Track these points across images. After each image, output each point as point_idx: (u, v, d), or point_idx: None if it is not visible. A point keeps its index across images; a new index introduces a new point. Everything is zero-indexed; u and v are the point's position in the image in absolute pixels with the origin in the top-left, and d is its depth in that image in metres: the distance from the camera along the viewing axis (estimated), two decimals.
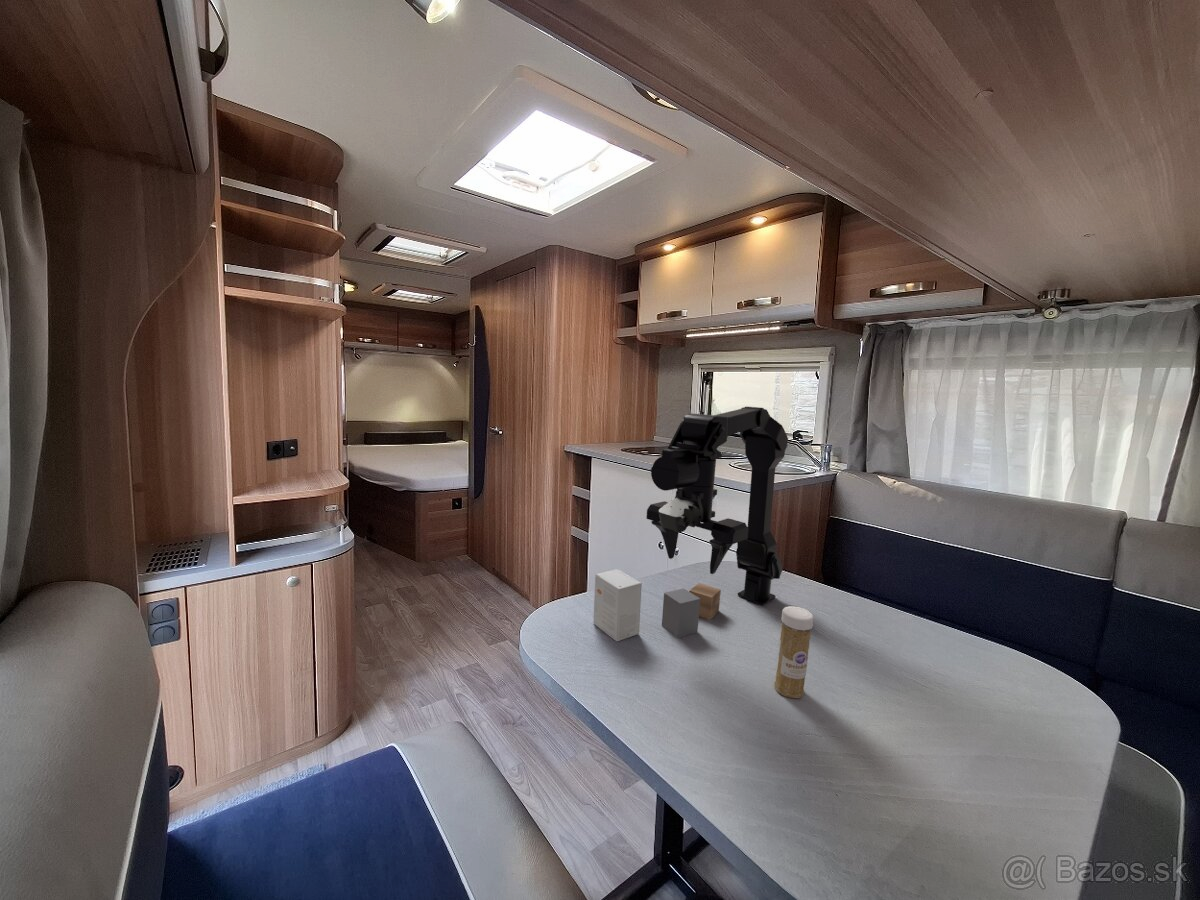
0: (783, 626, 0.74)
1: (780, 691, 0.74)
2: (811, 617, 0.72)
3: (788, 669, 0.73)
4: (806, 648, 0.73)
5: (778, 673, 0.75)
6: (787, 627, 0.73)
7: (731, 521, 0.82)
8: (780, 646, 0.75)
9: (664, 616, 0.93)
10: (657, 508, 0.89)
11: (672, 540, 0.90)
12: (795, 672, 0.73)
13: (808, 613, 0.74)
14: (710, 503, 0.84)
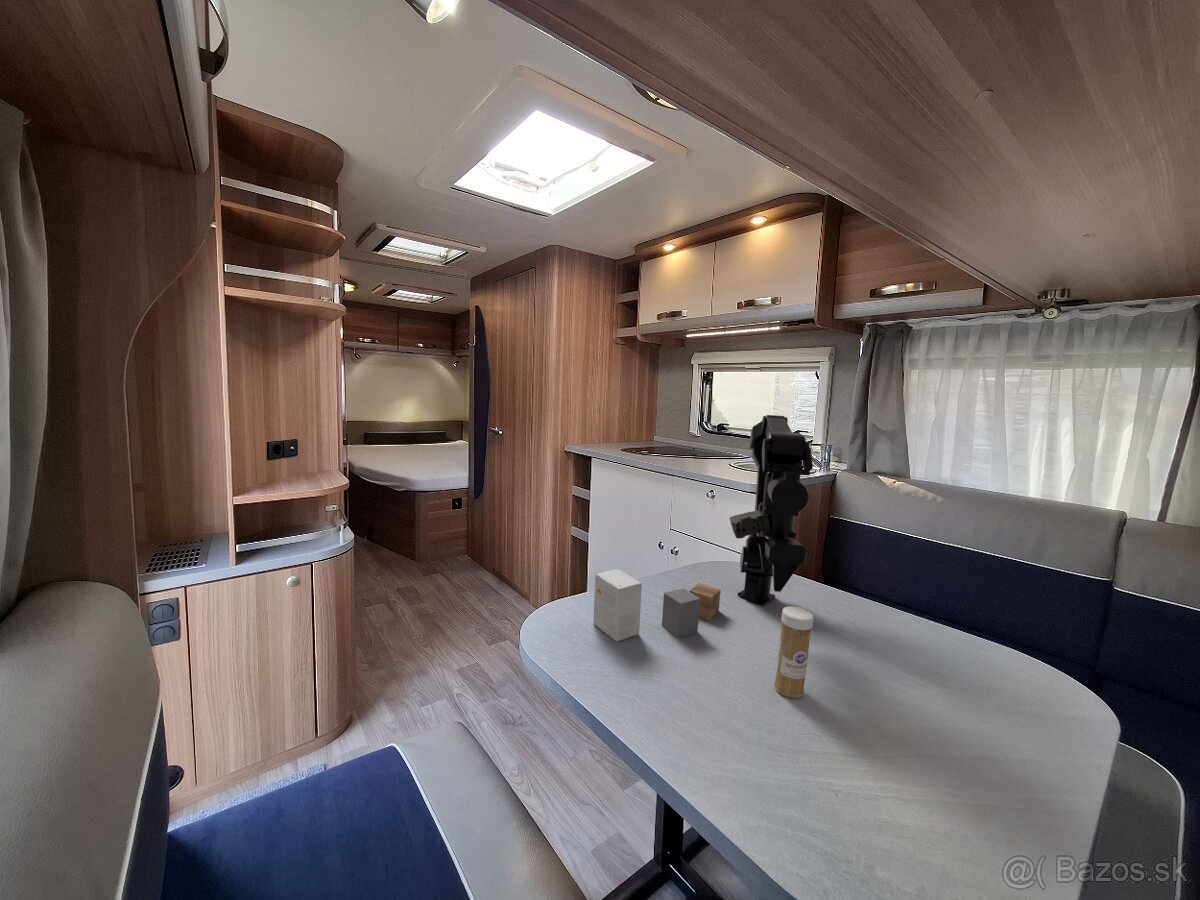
0: (783, 626, 0.74)
1: (780, 691, 0.74)
2: (811, 617, 0.72)
3: (788, 669, 0.73)
4: (806, 648, 0.73)
5: (778, 673, 0.75)
6: (787, 627, 0.73)
7: (791, 541, 0.81)
8: (780, 646, 0.75)
9: (664, 616, 0.93)
10: None
11: None
12: (795, 672, 0.73)
13: (808, 613, 0.74)
14: (783, 521, 0.85)
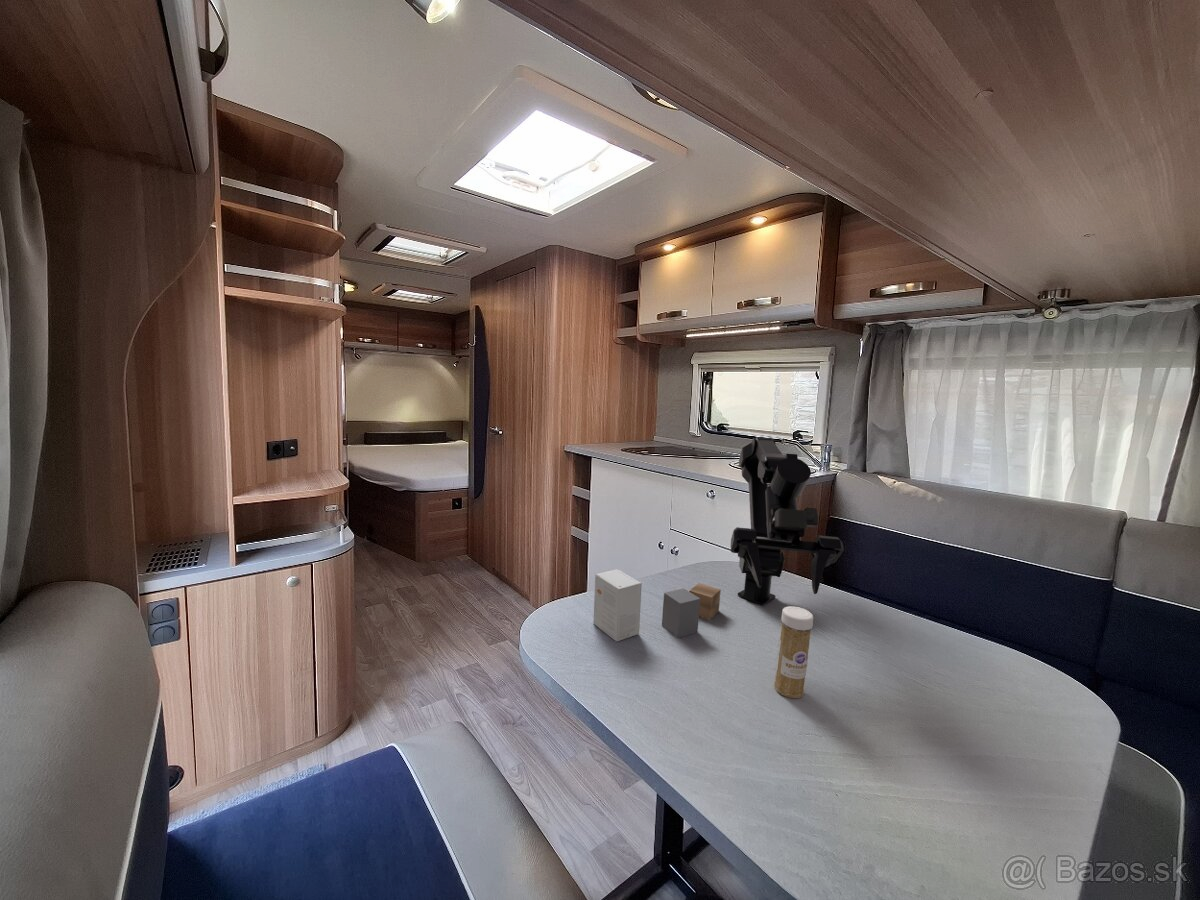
0: (783, 626, 0.74)
1: (780, 691, 0.74)
2: (811, 617, 0.72)
3: (788, 669, 0.73)
4: (806, 648, 0.73)
5: (778, 673, 0.75)
6: (787, 627, 0.73)
7: None
8: (780, 646, 0.75)
9: (664, 616, 0.93)
10: (747, 529, 0.87)
11: None
12: (795, 672, 0.73)
13: (808, 613, 0.74)
14: None
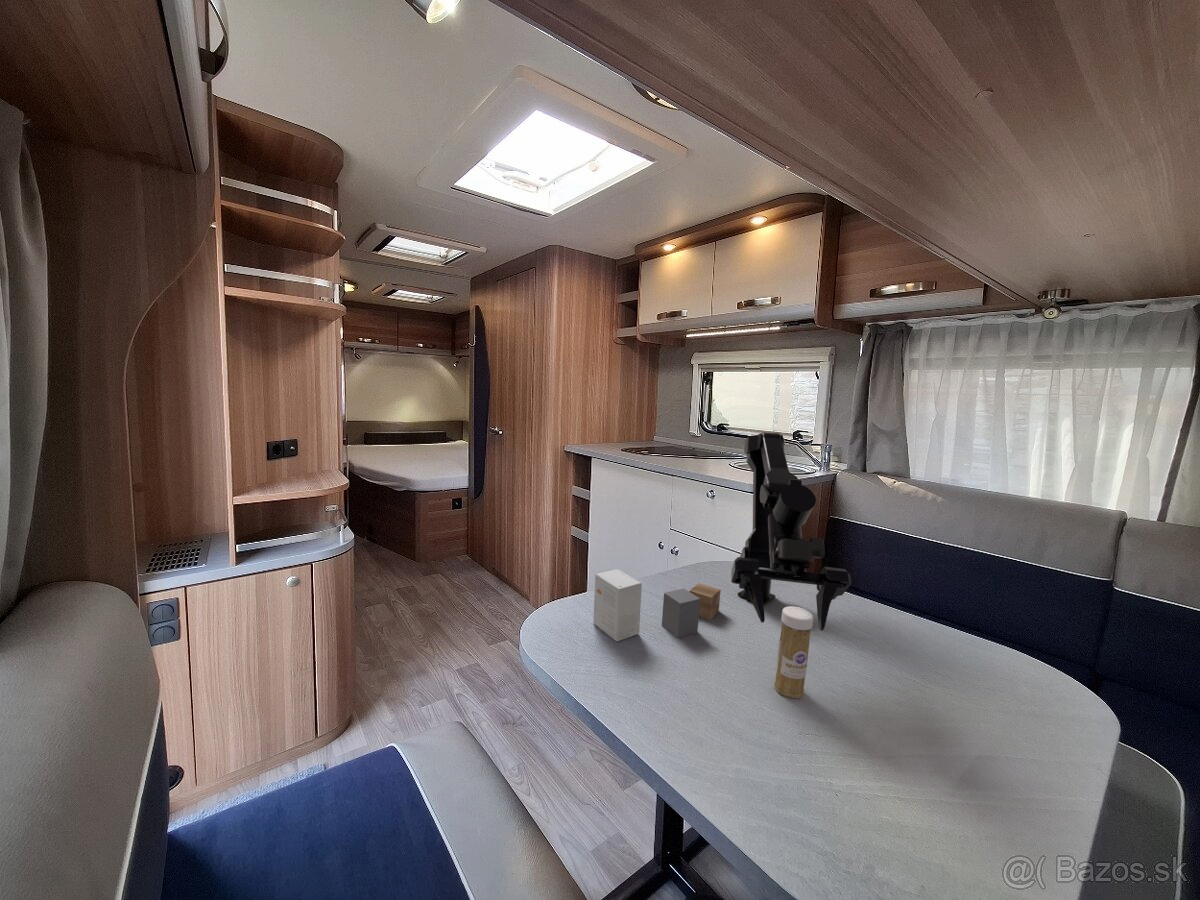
0: (783, 626, 0.74)
1: (780, 691, 0.74)
2: (811, 617, 0.72)
3: (788, 669, 0.73)
4: (806, 648, 0.73)
5: (778, 673, 0.75)
6: (787, 627, 0.73)
7: None
8: (780, 646, 0.75)
9: (664, 616, 0.93)
10: (749, 559, 0.82)
11: None
12: (795, 672, 0.73)
13: (808, 613, 0.74)
14: None
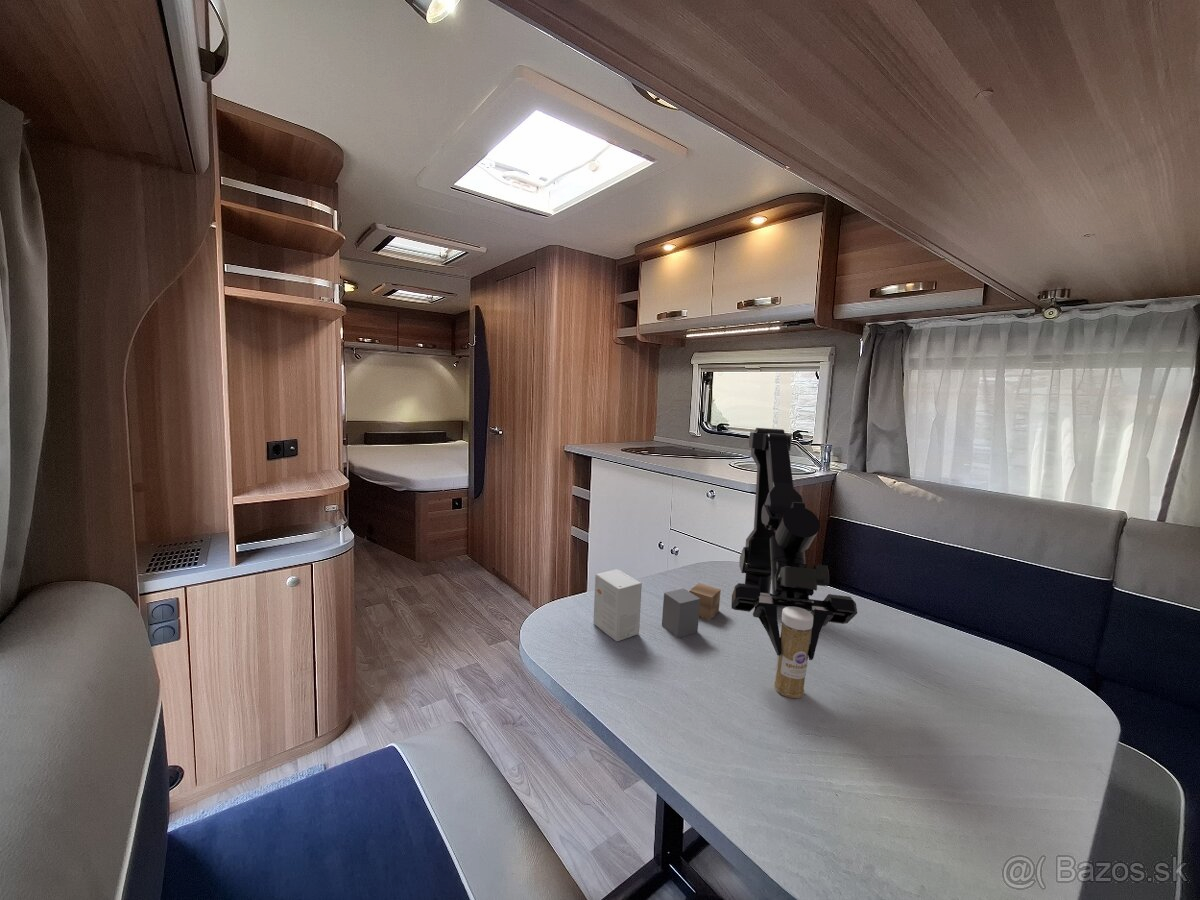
0: (783, 626, 0.74)
1: (780, 691, 0.74)
2: (811, 617, 0.72)
3: (788, 669, 0.73)
4: (806, 648, 0.73)
5: (778, 673, 0.75)
6: (787, 627, 0.73)
7: None
8: None
9: (664, 616, 0.93)
10: (750, 585, 0.78)
11: None
12: (795, 672, 0.73)
13: (808, 613, 0.74)
14: None
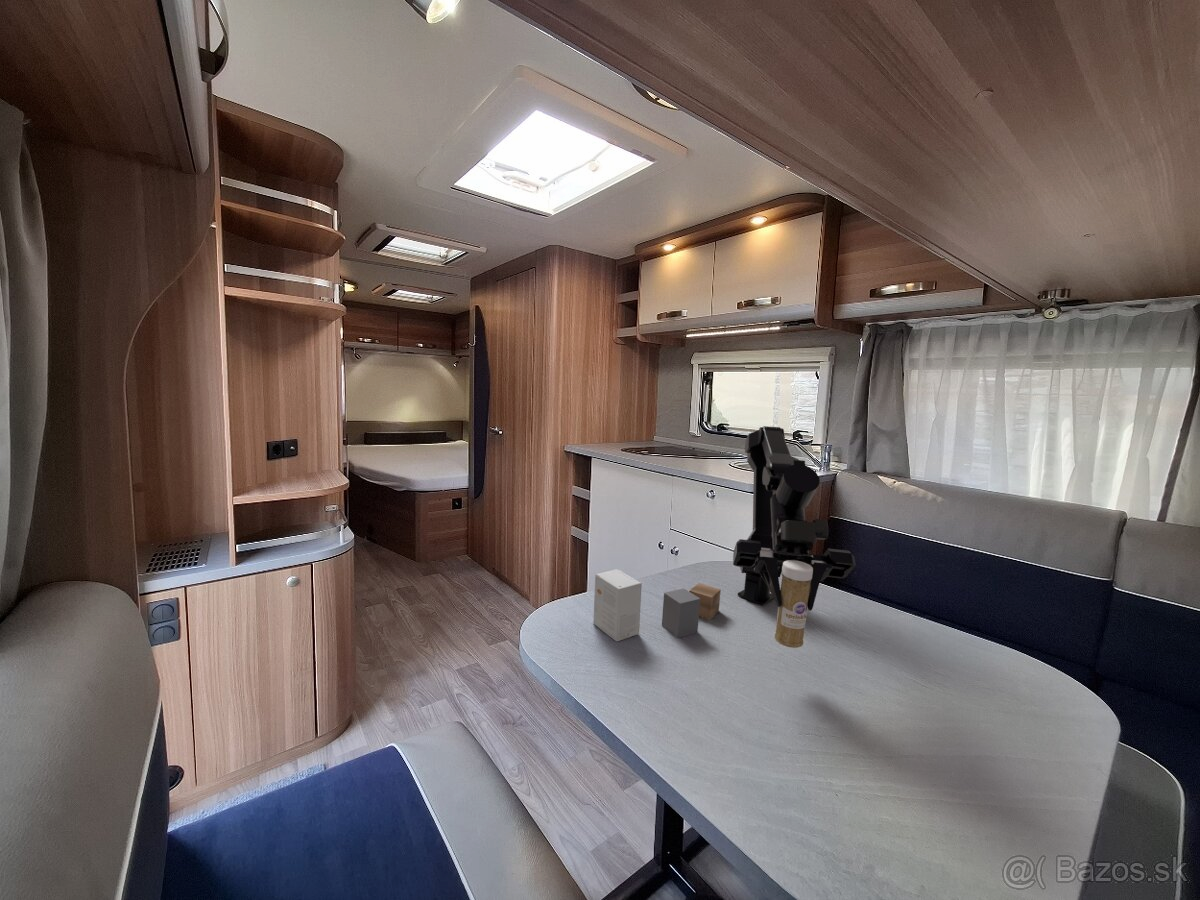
0: (783, 578, 0.76)
1: (780, 641, 0.77)
2: (811, 569, 0.75)
3: (788, 619, 0.75)
4: (806, 599, 0.75)
5: (778, 624, 0.77)
6: (787, 579, 0.75)
7: None
8: None
9: (664, 616, 0.93)
10: (752, 541, 0.80)
11: None
12: (795, 622, 0.75)
13: (808, 565, 0.76)
14: None
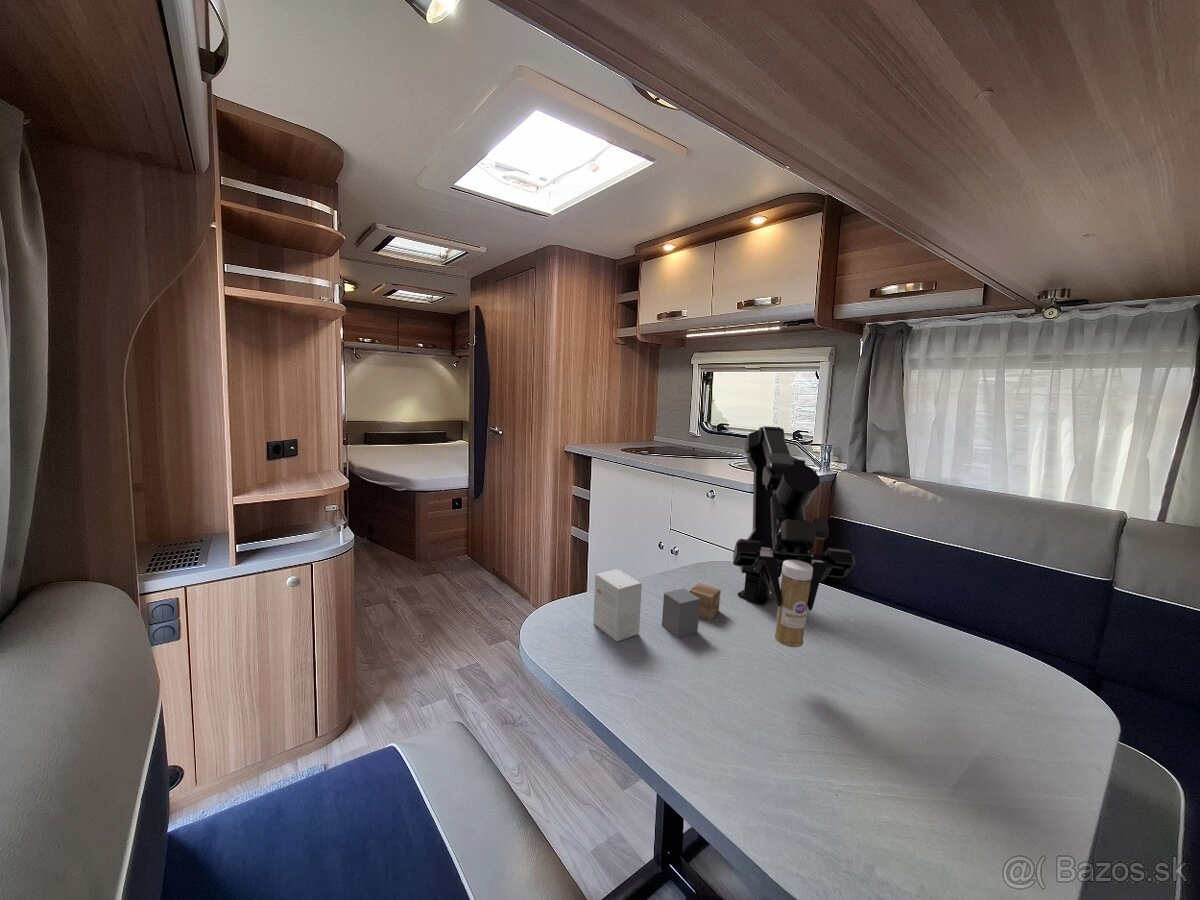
0: (783, 578, 0.76)
1: (780, 641, 0.77)
2: (811, 568, 0.75)
3: (788, 618, 0.75)
4: (806, 598, 0.75)
5: (778, 624, 0.77)
6: (787, 578, 0.75)
7: None
8: None
9: (664, 616, 0.93)
10: (752, 540, 0.80)
11: None
12: (795, 621, 0.75)
13: (808, 565, 0.76)
14: None
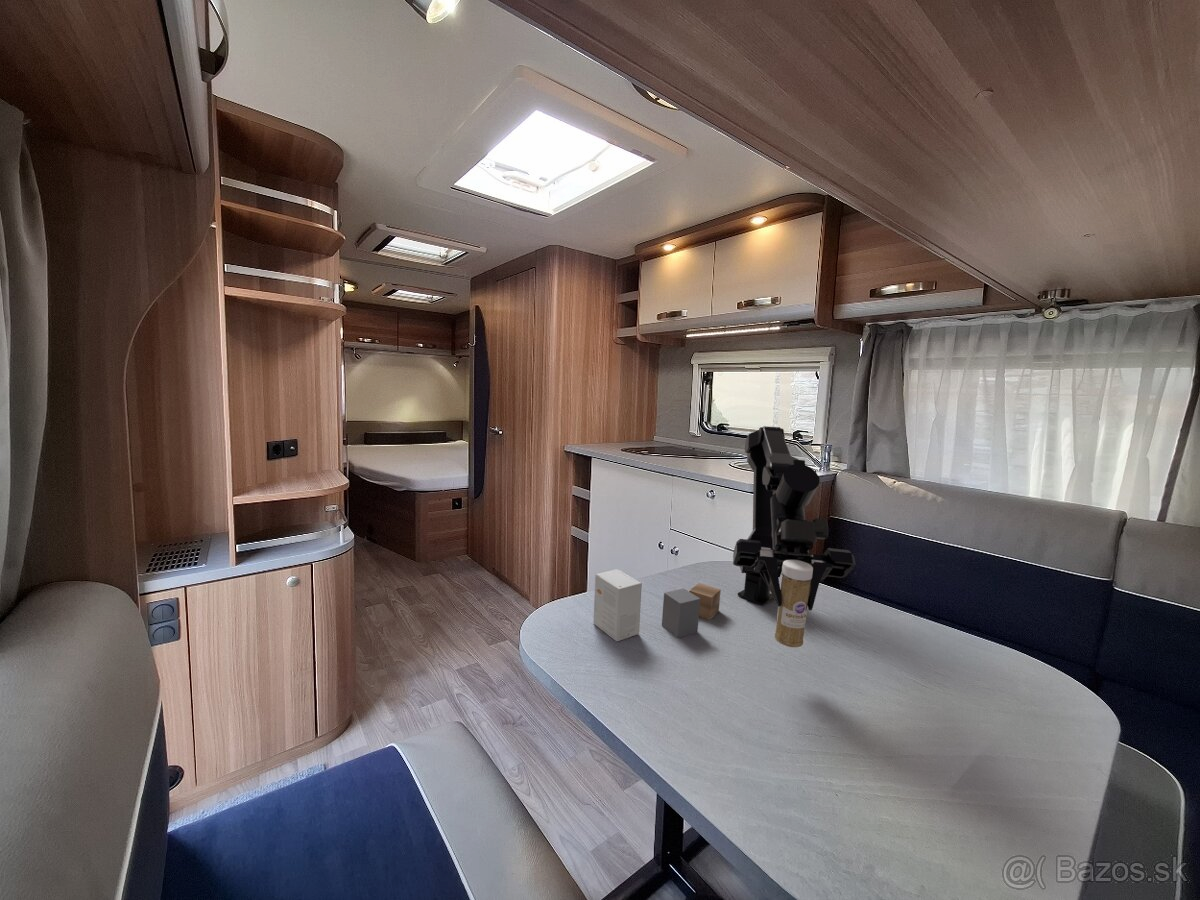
0: (783, 578, 0.76)
1: (780, 641, 0.77)
2: (811, 568, 0.75)
3: (788, 618, 0.75)
4: (806, 598, 0.75)
5: (778, 624, 0.77)
6: (787, 578, 0.75)
7: None
8: None
9: (664, 616, 0.93)
10: (752, 540, 0.80)
11: None
12: (795, 621, 0.75)
13: (808, 565, 0.76)
14: None
